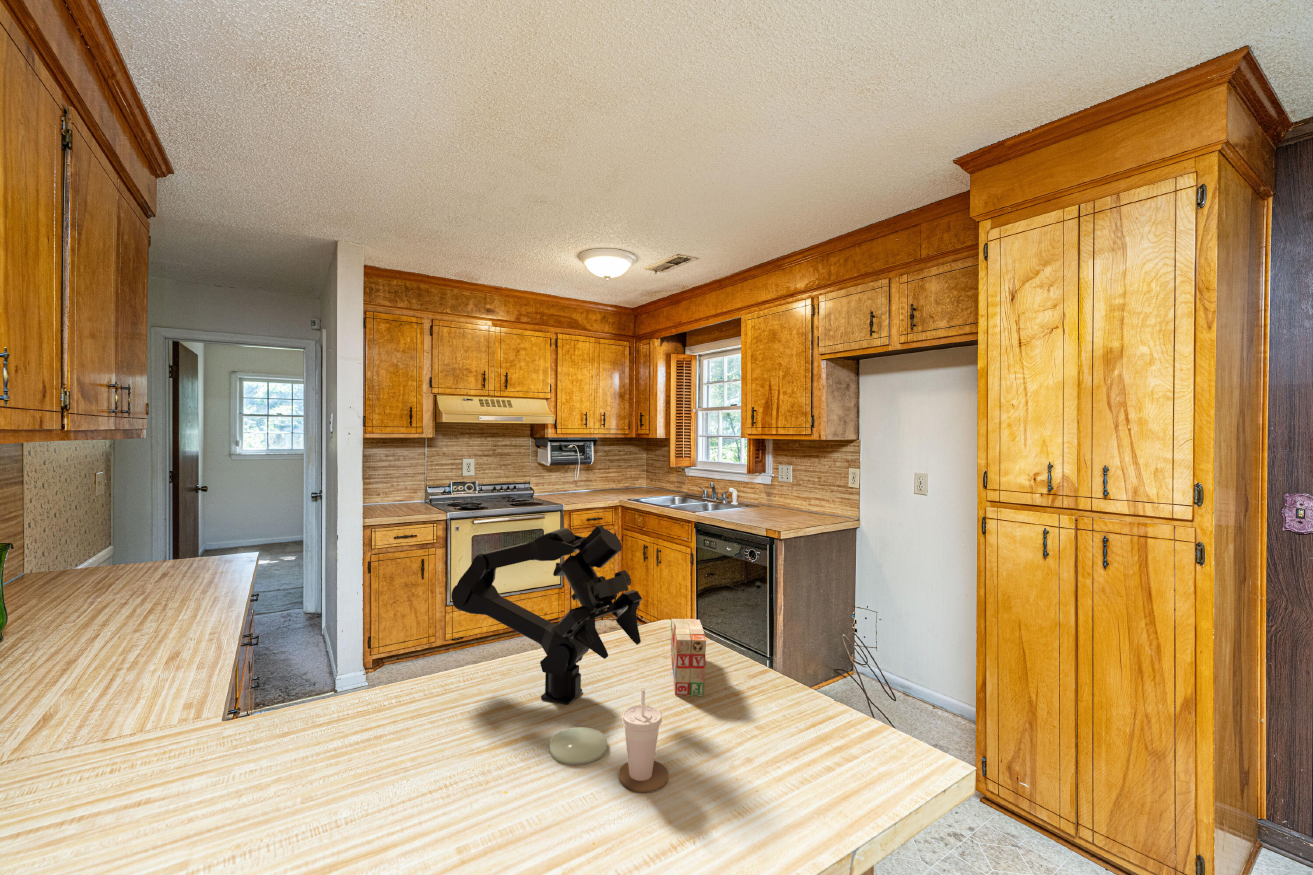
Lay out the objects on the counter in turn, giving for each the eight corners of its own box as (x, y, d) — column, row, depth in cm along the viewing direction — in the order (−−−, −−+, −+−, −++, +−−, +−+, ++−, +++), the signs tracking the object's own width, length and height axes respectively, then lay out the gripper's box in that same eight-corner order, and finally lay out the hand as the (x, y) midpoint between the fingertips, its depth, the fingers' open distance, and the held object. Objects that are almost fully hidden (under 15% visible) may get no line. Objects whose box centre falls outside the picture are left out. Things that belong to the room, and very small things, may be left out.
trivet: (610, 785, 91) (611, 781, 91) (629, 758, 98) (629, 754, 98) (658, 797, 88) (658, 793, 88) (674, 768, 96) (674, 765, 96)
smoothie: (622, 787, 90) (625, 698, 89) (618, 763, 96) (621, 679, 96) (663, 784, 91) (666, 696, 90) (656, 760, 97) (659, 678, 97)
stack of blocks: (670, 655, 143) (671, 605, 142) (695, 655, 143) (696, 606, 143) (674, 696, 121) (676, 638, 121) (704, 696, 122) (706, 639, 121)
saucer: (538, 757, 98) (538, 751, 98) (566, 728, 107) (566, 722, 107) (591, 770, 95) (592, 764, 95) (616, 739, 104) (616, 733, 104)
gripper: (570, 567, 106) (612, 642, 100) (636, 551, 121) (677, 615, 114) (541, 600, 111) (579, 673, 105) (608, 581, 126) (645, 644, 119)
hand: (623, 650), depth 110 cm, fingers open, 9 cm apart
